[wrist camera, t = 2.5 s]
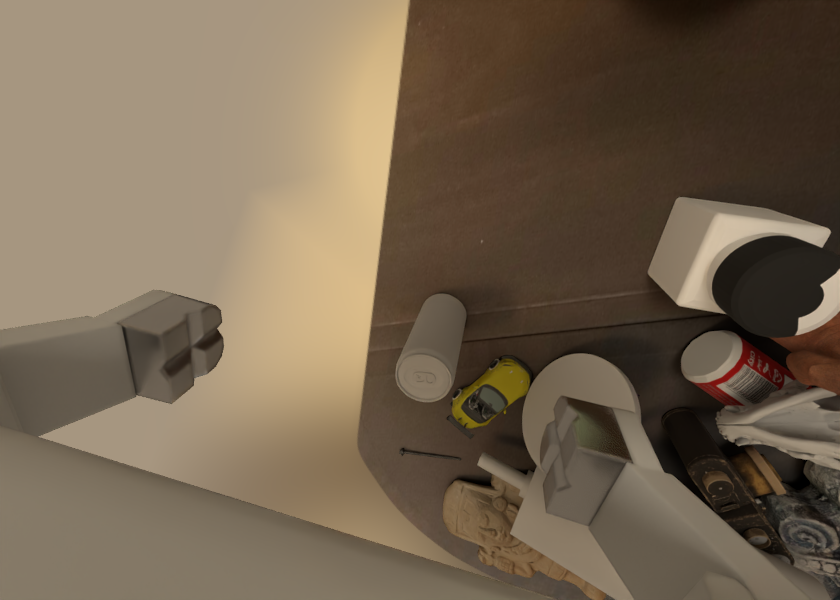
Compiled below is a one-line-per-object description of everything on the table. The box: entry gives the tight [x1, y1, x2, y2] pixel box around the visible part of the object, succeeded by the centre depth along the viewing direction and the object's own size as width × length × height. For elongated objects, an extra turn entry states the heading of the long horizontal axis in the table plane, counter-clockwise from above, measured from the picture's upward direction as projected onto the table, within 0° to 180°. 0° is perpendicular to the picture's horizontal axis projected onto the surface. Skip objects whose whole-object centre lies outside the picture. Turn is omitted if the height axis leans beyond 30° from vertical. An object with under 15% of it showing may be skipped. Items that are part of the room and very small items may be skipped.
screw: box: [399, 448, 461, 460], centre depth 49 cm, size 8×1×1 cm
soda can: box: [681, 330, 812, 406], centre depth 35 cm, size 6×6×12 cm
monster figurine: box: [522, 353, 651, 474], centre depth 38 cm, size 12×12×10 cm
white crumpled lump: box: [715, 379, 840, 470], centre depth 29 cm, size 8×9×12 cm
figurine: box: [443, 474, 606, 600], centre depth 47 cm, size 13×7×20 cm
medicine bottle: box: [648, 197, 840, 338], centre depth 28 cm, size 7×7×12 cm
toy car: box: [447, 355, 532, 439], centre depth 42 cm, size 5×10×3 cm, turn 139°
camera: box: [662, 408, 795, 566], centre depth 38 cm, size 16×7×8 cm, turn 40°
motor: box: [478, 452, 831, 600], centre depth 37 cm, size 30×10×10 cm, turn 81°
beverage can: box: [395, 293, 467, 402], centre depth 35 cm, size 5×5×12 cm
